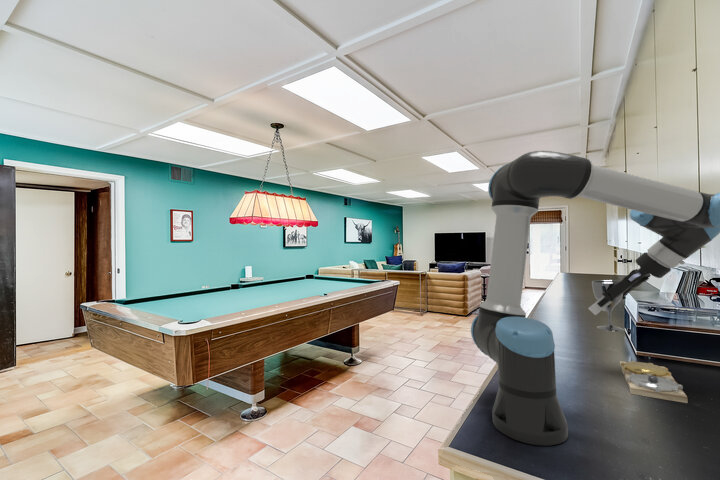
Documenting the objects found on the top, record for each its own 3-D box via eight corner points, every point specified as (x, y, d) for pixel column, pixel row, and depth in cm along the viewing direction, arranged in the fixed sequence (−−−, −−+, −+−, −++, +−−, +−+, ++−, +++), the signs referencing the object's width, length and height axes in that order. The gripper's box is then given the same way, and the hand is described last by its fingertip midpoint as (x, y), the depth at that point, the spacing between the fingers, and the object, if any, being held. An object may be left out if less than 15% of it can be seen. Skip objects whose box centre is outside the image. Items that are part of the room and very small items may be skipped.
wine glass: (615, 325, 106) (611, 279, 107) (633, 331, 98) (629, 282, 99) (589, 326, 107) (586, 280, 107) (605, 332, 99) (602, 283, 99)
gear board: (689, 403, 81) (688, 389, 81) (629, 393, 87) (628, 380, 87) (666, 371, 101) (665, 360, 101) (619, 365, 107) (618, 355, 107)
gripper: (663, 272, 85) (595, 324, 97) (679, 267, 97) (617, 314, 109) (636, 252, 89) (574, 304, 102) (654, 250, 101) (597, 297, 114)
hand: (596, 309), depth 105 cm, fingers closed on wine glass, 7 cm apart
